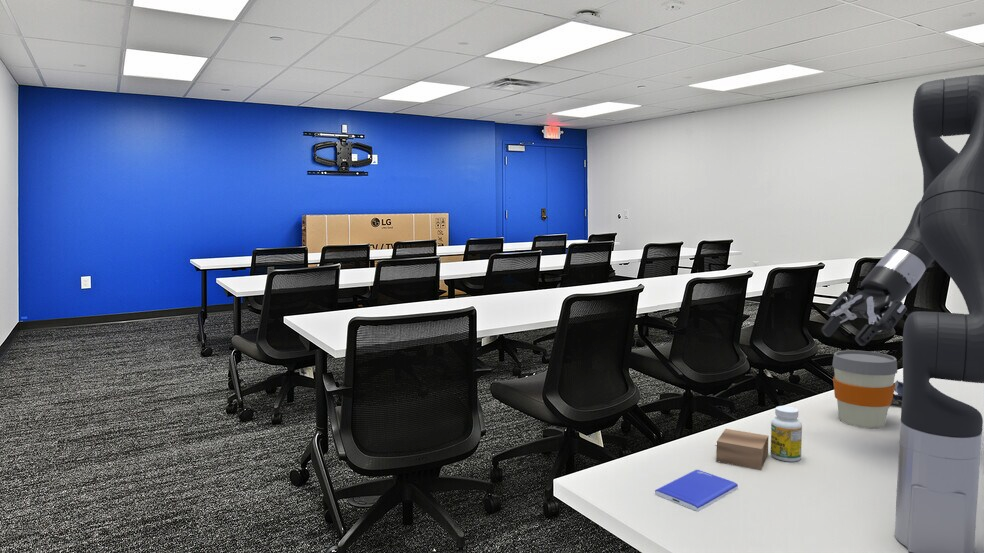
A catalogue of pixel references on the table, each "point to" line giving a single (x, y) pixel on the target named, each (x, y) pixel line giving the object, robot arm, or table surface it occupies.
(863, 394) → the reusable coffee cup
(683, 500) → the hard drive
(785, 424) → the supplement bottle
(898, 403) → the snack package
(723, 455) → the walnut base block
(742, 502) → the table surface
